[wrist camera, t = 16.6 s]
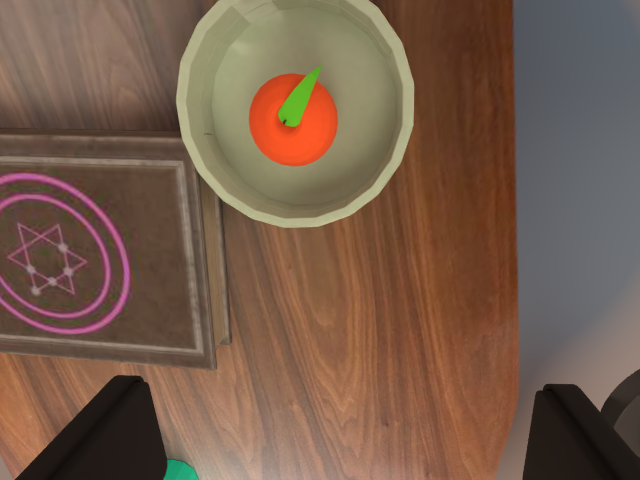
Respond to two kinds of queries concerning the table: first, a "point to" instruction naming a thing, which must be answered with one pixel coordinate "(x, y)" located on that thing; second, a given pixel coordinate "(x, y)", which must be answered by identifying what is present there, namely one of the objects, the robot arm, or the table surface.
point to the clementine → (293, 119)
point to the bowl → (302, 58)
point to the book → (110, 249)
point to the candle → (179, 471)
